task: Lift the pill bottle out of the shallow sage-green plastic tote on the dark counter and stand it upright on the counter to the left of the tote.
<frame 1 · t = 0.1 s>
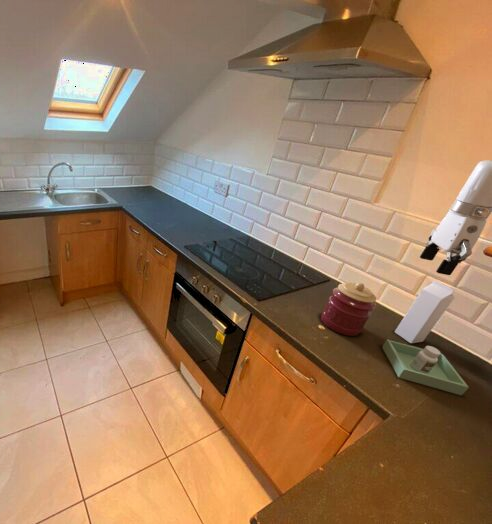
hand: (433, 266, 87), 30 cm above the countertop, tool pointing down, fingers open, 9 cm apart
pill bottle: (418, 368, 92), resting on tote
tote: (418, 369, 92), on the countertop
kitchen canister: (339, 324, 109), on the countertop
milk: (408, 337, 106), on the countertop
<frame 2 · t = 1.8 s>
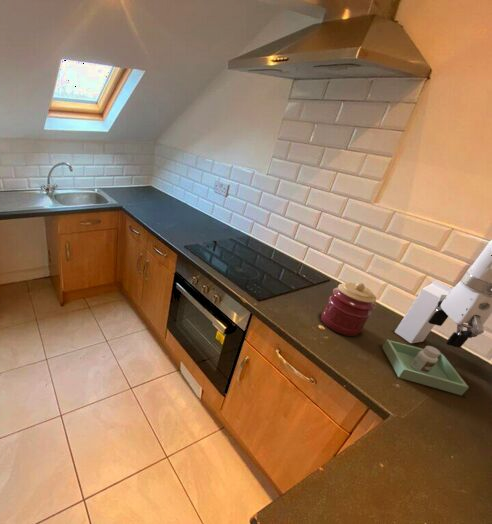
hand: (442, 334, 86), 14 cm above the countertop, tool pointing down, fingers open, 9 cm apart
nothing on the countertop moved.
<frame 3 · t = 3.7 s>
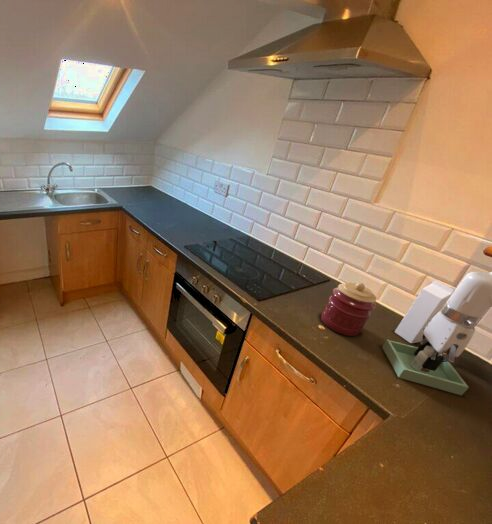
hand: (424, 361, 91), 3 cm above the countertop, tool pointing down, fingers closed on pill bottle, 4 cm apart
pill bottle: (418, 368, 92), resting on tote, touching gripper
everything else where it was.
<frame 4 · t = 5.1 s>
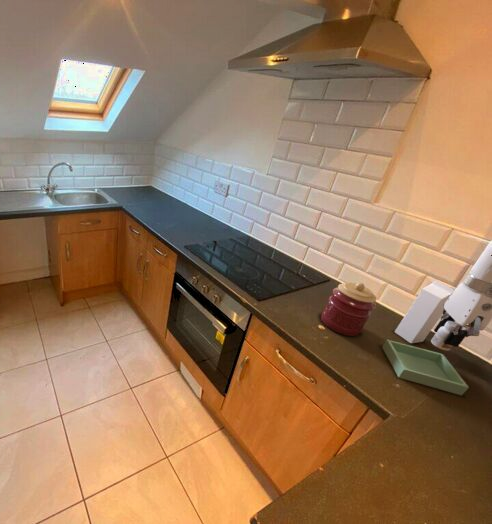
hand: (445, 338, 86), 13 cm above the countertop, tool pointing down, fingers closed on pill bottle, 4 cm apart
pill bottle: (439, 345, 87), point 10 cm above the countertop, touching gripper
everything else where it was.
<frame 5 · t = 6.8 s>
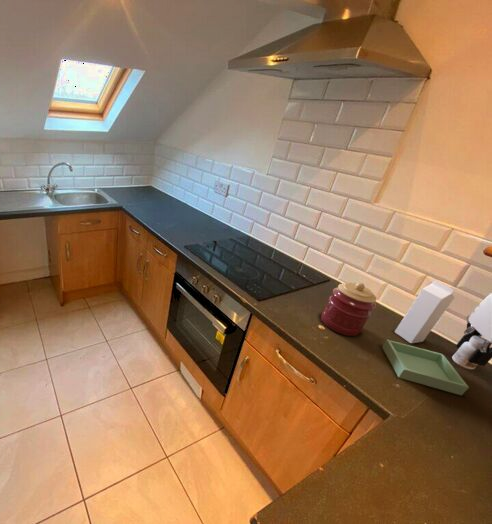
hand: (469, 355, 75), 16 cm above the countertop, tool pointing down, fingers closed on pill bottle, 4 cm apart
pill bottle: (462, 363, 77), point 13 cm above the countertop, touching gripper
everything else where it was.
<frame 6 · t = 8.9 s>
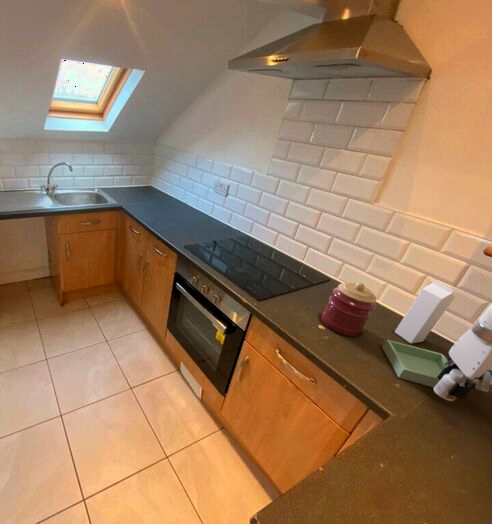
hand: (449, 387, 78), 6 cm above the countertop, tool pointing down, fingers closed on pill bottle, 4 cm apart
pill bottle: (443, 394, 80), point 3 cm above the countertop, touching gripper
everything else where it was.
when the fingers open (3 cm above the countertop, at t = 10.2 s): pill bottle stays where it is, on the countertop.
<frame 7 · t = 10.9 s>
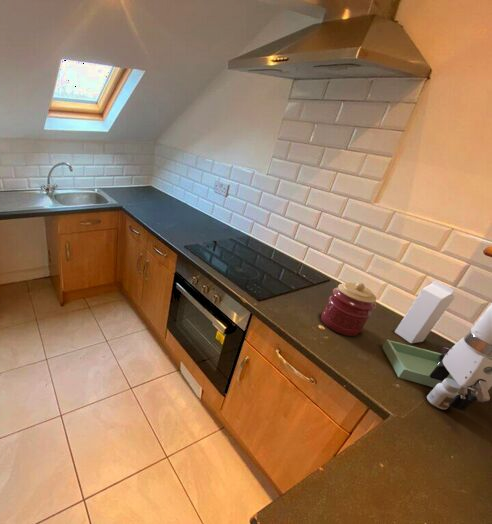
hand: (445, 392, 79), 4 cm above the countertop, tool pointing down, fingers open, 9 cm apart
pill bottle: (436, 403, 81), on the countertop
everything else where it was.
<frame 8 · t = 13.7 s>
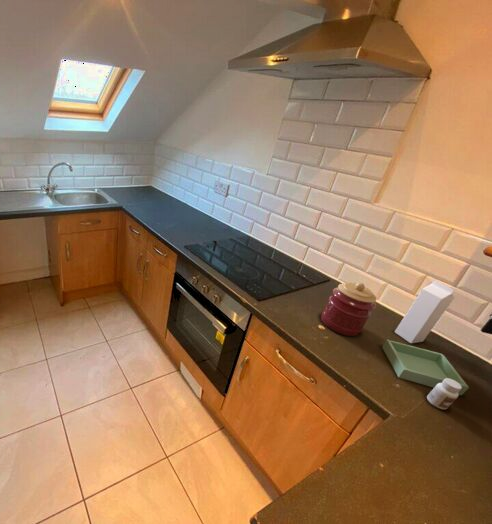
nothing on the countertop moved.
at the end: pill bottle inside the target area (0.0 cm from its centre), on the countertop; pill bottle tilted 0°; the gripper is holding nothing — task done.
